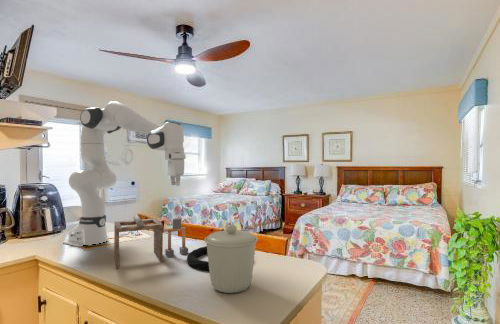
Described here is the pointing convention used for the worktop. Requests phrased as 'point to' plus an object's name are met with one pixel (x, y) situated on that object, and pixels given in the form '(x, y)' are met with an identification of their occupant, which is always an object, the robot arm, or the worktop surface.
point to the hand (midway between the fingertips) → (175, 185)
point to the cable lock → (195, 262)
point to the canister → (231, 259)
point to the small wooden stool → (137, 221)
